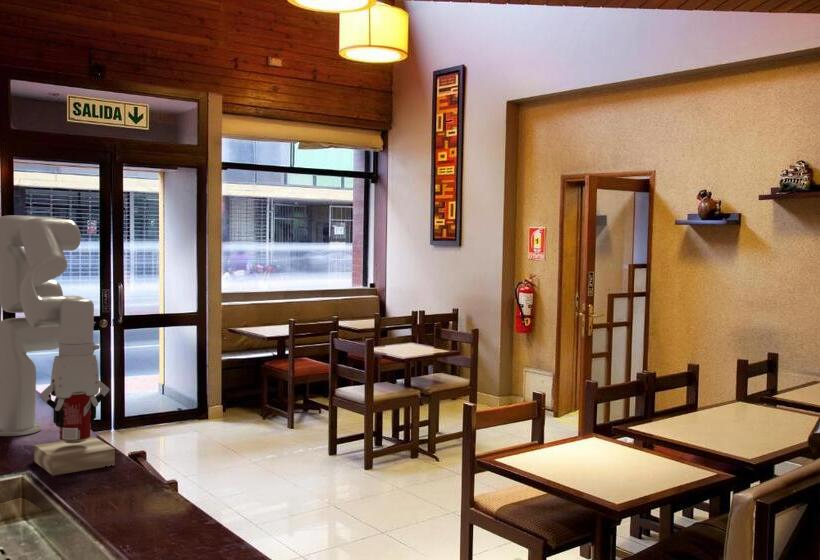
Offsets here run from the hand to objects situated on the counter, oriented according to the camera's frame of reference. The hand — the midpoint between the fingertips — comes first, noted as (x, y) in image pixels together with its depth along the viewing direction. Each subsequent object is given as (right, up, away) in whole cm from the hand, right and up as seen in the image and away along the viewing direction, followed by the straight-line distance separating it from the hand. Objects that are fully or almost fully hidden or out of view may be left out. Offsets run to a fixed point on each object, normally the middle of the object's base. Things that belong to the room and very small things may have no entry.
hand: (74, 423), depth 177 cm
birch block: (0, -10, 0) cm, 10 cm away
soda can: (0, -4, 0) cm, 4 cm away
